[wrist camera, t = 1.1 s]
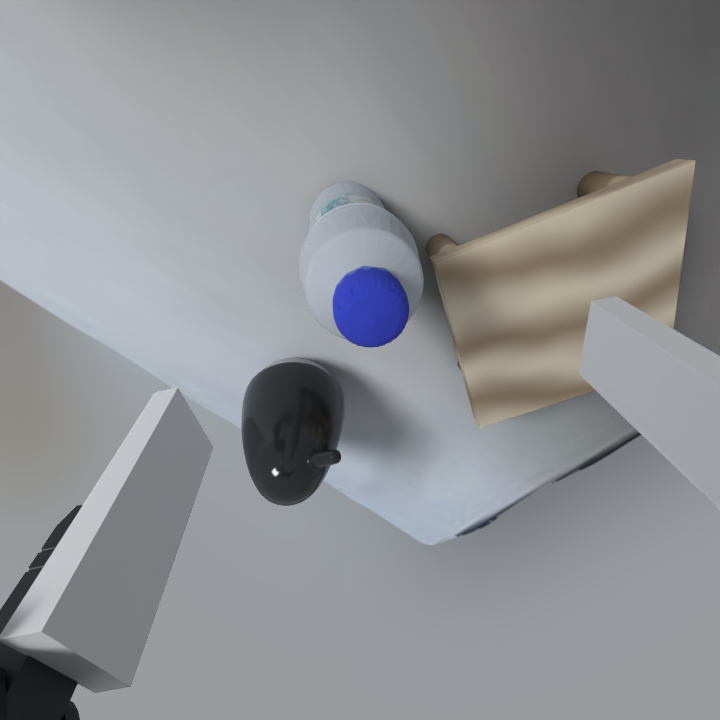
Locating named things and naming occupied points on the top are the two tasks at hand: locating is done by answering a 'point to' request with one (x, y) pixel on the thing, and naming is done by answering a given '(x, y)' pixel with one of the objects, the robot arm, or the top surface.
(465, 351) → the footstool
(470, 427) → the top surface
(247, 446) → the pump dispenser
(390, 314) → the bottle
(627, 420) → the robot arm
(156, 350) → the top surface
